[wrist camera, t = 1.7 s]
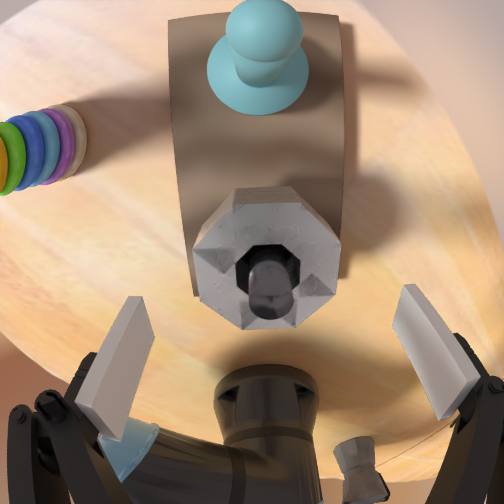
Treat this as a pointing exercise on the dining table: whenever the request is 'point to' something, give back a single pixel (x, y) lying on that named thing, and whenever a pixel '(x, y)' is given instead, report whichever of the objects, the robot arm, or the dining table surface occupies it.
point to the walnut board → (255, 128)
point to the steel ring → (263, 233)
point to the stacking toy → (40, 147)
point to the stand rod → (269, 281)
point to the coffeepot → (360, 472)
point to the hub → (259, 58)
